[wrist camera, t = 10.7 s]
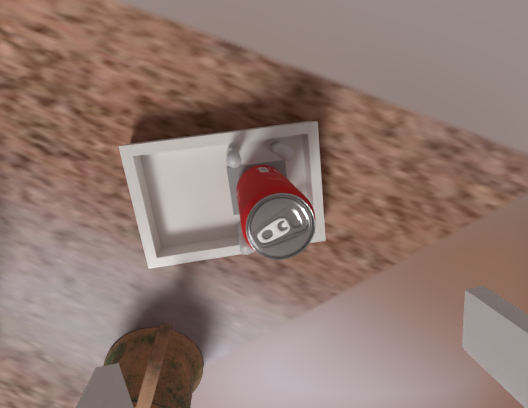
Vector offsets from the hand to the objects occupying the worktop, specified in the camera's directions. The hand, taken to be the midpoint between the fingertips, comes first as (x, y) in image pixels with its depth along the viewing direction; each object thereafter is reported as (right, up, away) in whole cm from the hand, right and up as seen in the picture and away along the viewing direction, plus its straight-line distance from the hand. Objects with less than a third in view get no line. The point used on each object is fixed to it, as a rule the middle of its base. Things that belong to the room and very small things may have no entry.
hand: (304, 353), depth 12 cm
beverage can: (-2, +7, +21) cm, 22 cm away
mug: (-14, -12, +26) cm, 31 cm away
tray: (-5, +7, +21) cm, 23 cm away
